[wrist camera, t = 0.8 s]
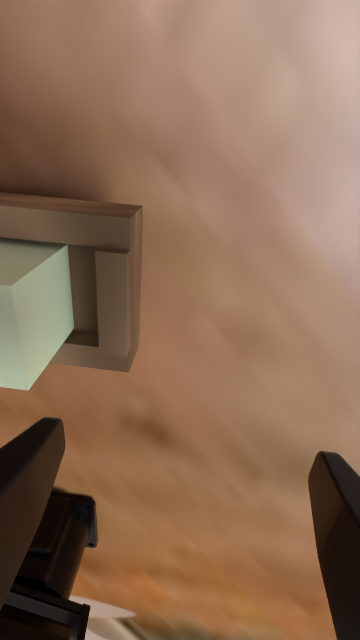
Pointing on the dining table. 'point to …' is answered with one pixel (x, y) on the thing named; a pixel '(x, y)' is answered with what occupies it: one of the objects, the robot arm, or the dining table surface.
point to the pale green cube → (32, 308)
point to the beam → (89, 271)
